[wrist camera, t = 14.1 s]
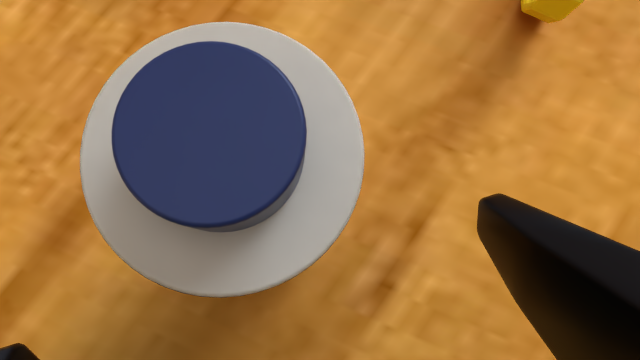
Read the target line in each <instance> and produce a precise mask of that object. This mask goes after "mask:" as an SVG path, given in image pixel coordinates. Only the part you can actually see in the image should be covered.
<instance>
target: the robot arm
mask: <svg viewBox="0 0 640 360" xmlns="http://www.w3.org/2000/svg"><path fill="white" fill-rule="evenodd" d="M477 232H478V235H479V238H480V240H481V241H482V243H483V245H484V247H485V249H486V250H487V252H488V254H489V256H490V257H491V259H492V261H493V263H494V265H495V266H496V268H497V270H498V272H499V273H500V275H501V277H502V279H503V281H504V282H505V284H506V286H507V288H508V289H509V291H510V293H511V295H512V296H513V298H514V300H515V301H516V303H517V304H518V306H519V307H520V309H521V310H522V312H523V313H524V314H525V316H526V317H527V319H528V320H529V321H530V323H531V324H532V326H533V327H534V328H535V330H536V331H537V332H538V334H539V335H540V337H541V338H542V339H543V341H544V342H545V344H546V345H547V346H548V348H549V349H550V351H551V352H552V353H553V355H554V356H555V358H556V359H557V360H640V251H638V250H635V249H633V248H631V247H628V246H626V245H623V244H621V243H619V242H616V241H614V240H611V239H609V238H607V237H604V236H602V235H599V234H597V233H595V232H592V231H590V230H587V229H585V228H583V227H580V226H578V225H575V224H573V223H571V222H568V221H566V220H563V219H561V218H559V217H556V216H554V215H551V214H549V213H547V212H544V211H542V210H540V209H537V208H535V207H532V206H530V205H528V204H525V203H523V202H520V201H518V200H516V199H513V198H511V197H508V196H506V195H503V194H494V195H491V196H488V197H484V198H482V199H481V200H480V201H479V205H478V219H477ZM0 360H40V359H39V358H38V357H37V356H36V355H35V354H34V353H32V352H31V351H30V350H29V349H28V348H27V347H26V346H25V345H24V344H20V343H16V344H13V345H10V346H6V347H3V348H0Z"/></svg>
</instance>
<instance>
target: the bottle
mask: <svg viewBox="0 0 640 360" xmlns="http://www.w3.org/2000/svg"><path fill="white" fill-rule="evenodd" d="M363 173H364V143H363V134H362V130H361V126H360V121H359V118H358V115H357V112H356V110H355V107H354V104H353V102H352V100H351V98H350V96H349V94H348V93H347V91H346V89H345V87H344V86H343V84H342V83H341V81H340V80H339V79H338V77H337V76H336V74H335V73H334V72H333V71H332V70H331V69H330V68H329V67H328V65H327V64H326V63H325V62H324V61H323V60H322V59H320V58H319V57H318V56H317V55H316V54H314V53H313V52H312V51H311V50H310V49H308V48H307V47H305V46H303V45H302V44H300V43H299V42H297V41H296V40H294V39H292V38H290V37H288V36H286V35H283V34H281V33H279V32H276V31H273V30H270V29H267V28H264V27H261V26H256V25H251V24H246V23H235V22H214V23H205V24H199V25H193V26H189V27H186V28H182V29H179V30H175V31H173V32H171V33H168V34H166V35H164V36H161V37H159V38H157V39H155V40H154V41H152V42H150V43H148V44H147V45H145V46H143V47H142V48H141V49H139V50H138V51H137V52H135V53H134V54H133V55H131V56H130V57H129V58H128V59H127V60H126V61H125V62H124V63H123V64H122V65H121V66H119V67H118V68H117V69H116V70H115V72H114V73H113V74H112V76H111V77H110V78H109V79H108V81H107V82H106V83H105V84H104V86H103V88H102V89H101V91H100V93H99V94H98V96H97V98H96V99H95V101H94V104H93V106H92V108H91V110H90V113H89V115H88V118H87V121H86V125H85V128H84V132H83V136H82V143H81V150H80V174H81V181H82V189H83V193H84V196H85V200H86V203H87V207H88V209H89V212H90V214H91V216H92V219H93V221H94V223H95V225H96V227H97V228H98V230H99V232H100V233H101V235H102V236H103V238H104V240H105V241H106V242H107V243H108V245H109V246H110V247H111V248H112V249H113V251H114V252H115V253H116V254H117V255H118V256H119V257H120V258H121V259H122V260H123V261H124V262H125V263H127V264H128V265H129V266H130V267H131V268H132V269H134V270H135V271H137V272H138V273H140V274H141V275H143V276H144V277H146V278H147V279H149V280H151V281H153V282H155V283H157V284H159V285H161V286H164V287H166V288H169V289H172V290H175V291H178V292H181V293H185V294H191V295H196V296H201V297H219V298H223V297H235V296H243V295H248V294H253V293H257V292H261V291H264V290H267V289H269V288H272V287H275V286H278V285H280V284H282V283H284V282H286V281H288V280H290V279H291V278H293V277H295V276H297V275H298V274H300V273H301V272H303V271H304V270H305V269H307V268H308V267H310V266H311V265H312V264H313V263H315V262H316V261H317V260H318V259H319V258H320V257H321V256H322V255H323V254H324V253H326V251H327V250H328V249H329V248H330V247H331V245H332V244H333V243H334V242H335V241H336V239H337V238H338V237H339V235H340V234H341V232H342V230H343V229H344V227H345V226H346V224H347V223H348V221H349V218H350V216H351V214H352V212H353V210H354V208H355V205H356V202H357V199H358V196H359V193H360V189H361V184H362V179H363Z"/></svg>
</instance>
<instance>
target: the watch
mask: <svg viewBox="0 0 640 360" xmlns="http://www.w3.org/2000/svg"><path fill="white" fill-rule="evenodd" d="M520 1H521V10H522V12H524V13H526V14H529V15H531V16H533V17H535V18H538V19H540V20H542V21H544V22H547V23H551V22H556V21H560V20H562V19H564V18H565V17H566V16H567V15H569V14H570V13H571V12H572V11H573V10H574V9H576V8H577V7H578V6H579V5H580V4H581V3H583V1H584V0H520Z"/></svg>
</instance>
